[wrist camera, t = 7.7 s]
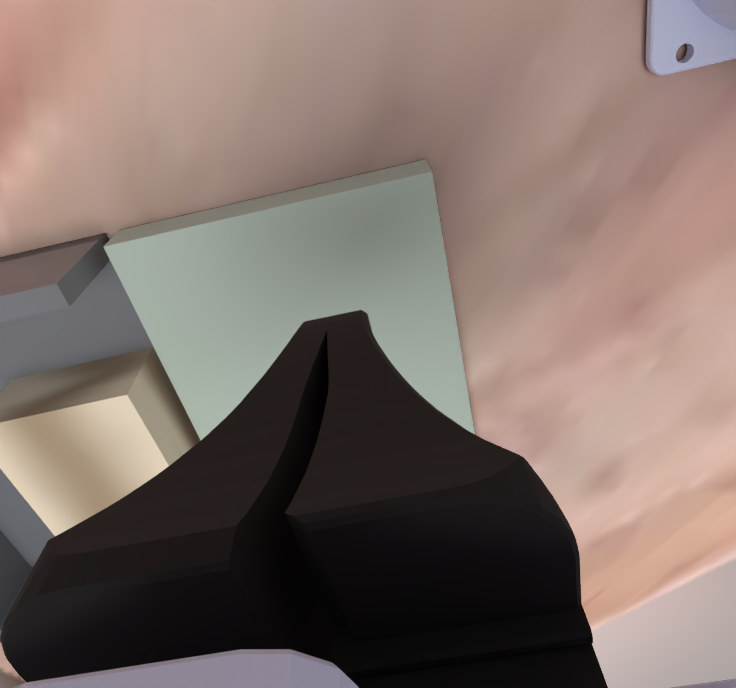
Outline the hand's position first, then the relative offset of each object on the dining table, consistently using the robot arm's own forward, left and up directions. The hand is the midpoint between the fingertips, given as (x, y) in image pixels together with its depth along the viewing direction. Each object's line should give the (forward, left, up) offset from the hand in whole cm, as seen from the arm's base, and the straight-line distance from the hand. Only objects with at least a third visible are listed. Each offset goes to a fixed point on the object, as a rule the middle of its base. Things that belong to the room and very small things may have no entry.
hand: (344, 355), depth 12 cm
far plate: (+2, +7, -9) cm, 12 cm away
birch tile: (+11, +7, -9) cm, 16 cm away
